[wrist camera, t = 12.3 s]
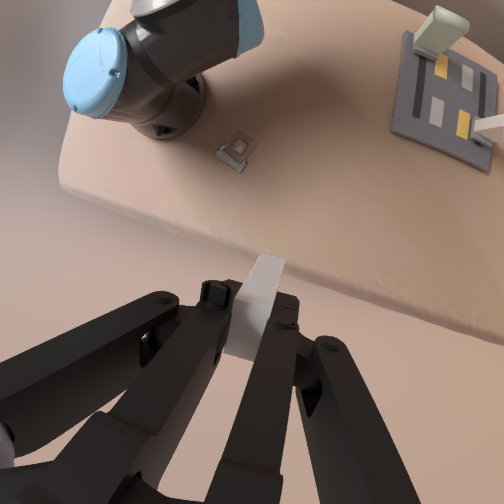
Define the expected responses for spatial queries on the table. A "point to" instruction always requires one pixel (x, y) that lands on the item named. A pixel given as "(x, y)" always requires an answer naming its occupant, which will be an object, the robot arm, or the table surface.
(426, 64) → the switch base
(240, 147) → the grey plastic bracket
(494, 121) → the white lever
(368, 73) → the table surface
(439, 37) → the sage lever
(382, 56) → the table surface
